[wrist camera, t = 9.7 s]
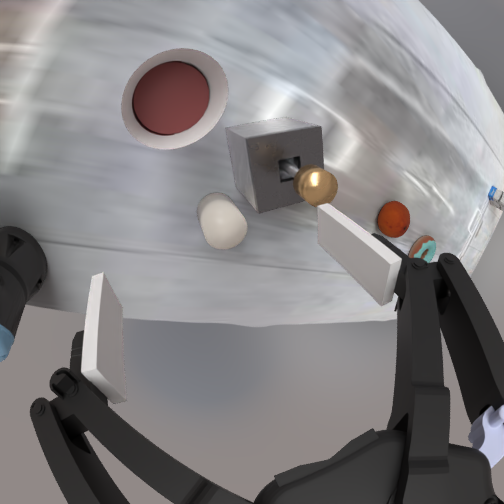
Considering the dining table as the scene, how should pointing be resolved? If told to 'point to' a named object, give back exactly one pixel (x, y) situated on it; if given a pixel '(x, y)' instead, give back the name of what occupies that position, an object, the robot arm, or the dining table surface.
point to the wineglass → (174, 98)
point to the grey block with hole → (272, 159)
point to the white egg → (221, 221)
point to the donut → (423, 248)
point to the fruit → (393, 219)
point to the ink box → (497, 198)
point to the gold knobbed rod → (311, 183)
